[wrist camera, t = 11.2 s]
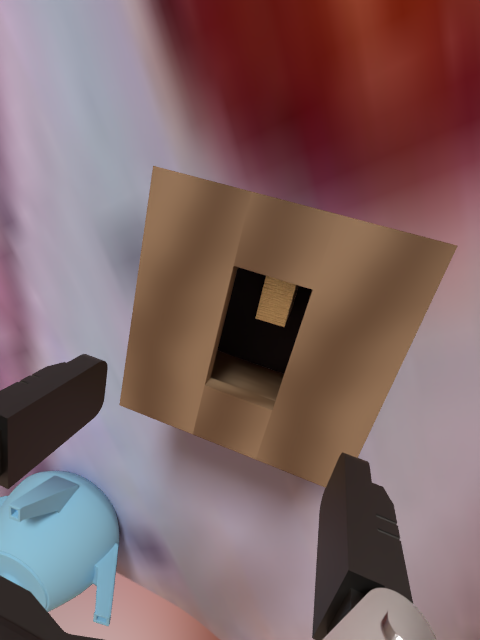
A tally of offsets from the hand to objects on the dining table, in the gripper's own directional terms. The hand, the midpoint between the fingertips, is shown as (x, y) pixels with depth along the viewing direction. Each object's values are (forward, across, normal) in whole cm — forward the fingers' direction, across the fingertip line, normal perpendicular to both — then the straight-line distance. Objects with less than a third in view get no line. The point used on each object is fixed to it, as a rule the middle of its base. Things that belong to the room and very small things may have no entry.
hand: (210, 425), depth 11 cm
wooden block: (+15, 0, -4) cm, 15 cm away
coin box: (+17, 0, 0) cm, 17 cm away
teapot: (+17, +17, +33) cm, 41 cm away
